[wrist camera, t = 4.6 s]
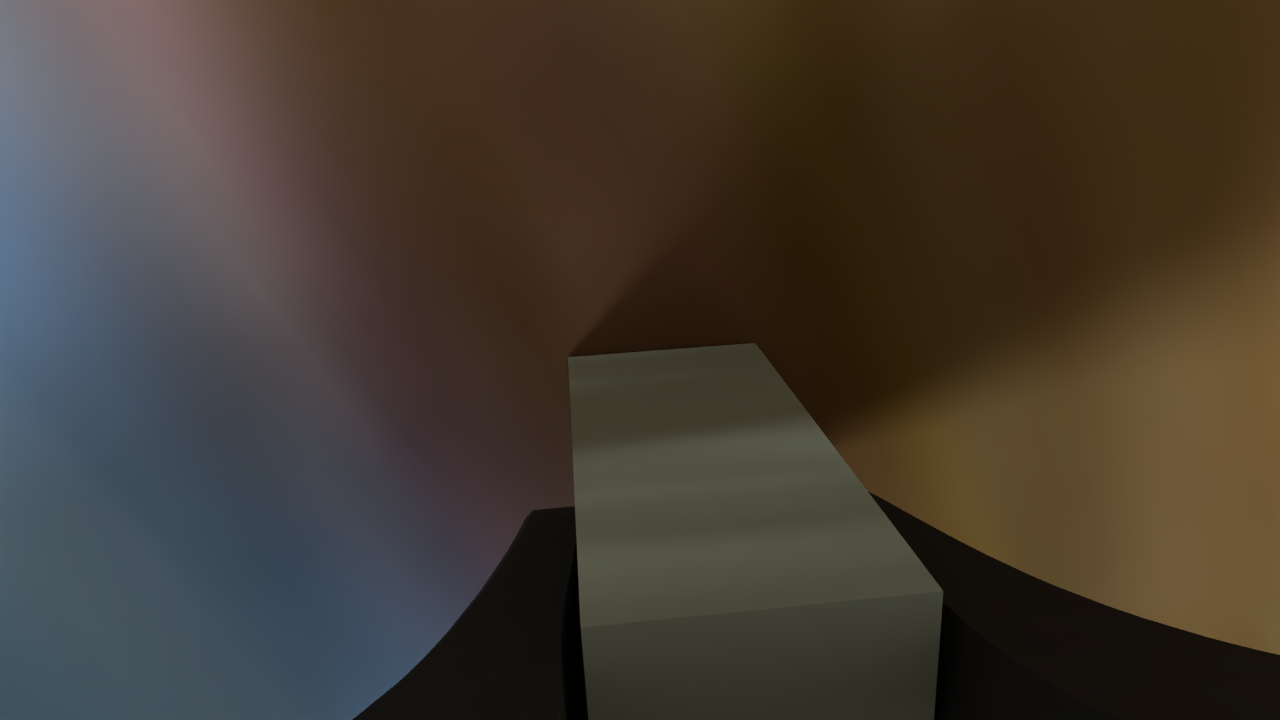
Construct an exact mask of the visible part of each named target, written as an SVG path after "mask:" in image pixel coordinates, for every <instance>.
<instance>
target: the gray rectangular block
mask: <svg viewBox="0 0 1280 720" xmlns="http://www.w3.org/2000/svg"><path fill="white" fill-rule="evenodd" d="M568 368H569V390H570V411H571V432H572V454H573V475H574V497H575V518H576V539H577V561H578V582H579V603H580V625H581V638H582V650H583V661H584V673H585V685H586V697H587V709H588V720H934V712H935V698H936V685H937V671H938V658H939V644H940V630H941V617H942V603H943V590H942V589H941V587H940V586H939V585H938V583H937V582H936V581H935V579H934V578H933V577H932V575H931V574H930V573H929V572H928V570H927V569H926V568H925V566H924V565H923V564H922V562H921V561H920V560H919V558H918V557H917V556H916V554H915V553H914V552H913V550H912V549H911V548H910V546H909V545H908V544H907V542H906V541H905V540H904V539H903V537H902V536H901V535H900V533H899V532H898V531H897V529H896V528H895V527H894V525H893V524H892V523H891V521H890V520H889V519H888V517H887V516H886V515H885V513H884V512H883V511H882V510H881V508H880V507H879V506H878V504H877V503H876V502H875V500H874V499H873V498H872V496H871V495H870V494H869V492H868V491H867V490H866V488H865V487H864V486H863V484H862V483H861V482H860V480H859V479H858V478H857V477H856V475H855V474H854V473H853V471H852V470H851V469H850V467H849V466H848V465H847V463H846V462H845V461H844V459H843V458H842V457H841V455H840V454H839V453H838V451H837V450H836V449H835V447H834V446H833V445H832V444H831V442H830V441H829V440H828V438H827V437H826V436H825V434H824V433H823V432H822V430H821V429H820V428H819V426H818V425H817V424H816V422H815V421H814V420H813V418H812V417H811V416H810V414H809V413H808V412H807V411H806V409H805V408H804V407H803V405H802V404H801V403H800V401H799V400H798V399H797V397H796V396H795V395H794V393H793V392H792V391H791V389H790V388H789V387H788V385H787V384H786V383H785V382H784V380H783V379H782V378H781V376H780V375H779V374H778V372H777V371H776V370H775V368H774V367H773V366H772V364H771V363H770V362H769V360H768V359H767V358H766V356H765V355H764V354H763V352H762V351H761V350H760V349H759V347H758V346H757V345H756V343H747V344H734V345H721V346H708V347H695V348H681V349H668V350H655V351H642V352H629V353H616V354H603V355H590V356H577V357H568Z"/></svg>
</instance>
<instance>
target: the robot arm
mask: <svg viewBox="0 0 1280 720" xmlns="http://www.w3.org/2000/svg"><path fill="white" fill-rule="evenodd" d="M869 494H870V495H871V496H872V498H873V499H874V500H875V502H876V503H877V504H878V506H879V507H880V508H881V510H882V511H883V512H884V513H885V515H886V516H887V517H888V519H889V520H890V521H891V523H892V524H893V525H894V527H895V528H896V529H897V531H898V532H899V533H900V535H901V536H902V537H903V539H904V540H905V541H906V542H907V544H908V545H909V546H910V548H911V549H912V550H913V552H914V553H915V554H916V556H917V557H918V558H919V560H920V561H921V562H922V564H923V565H924V566H925V568H926V569H927V570H928V572H929V573H930V574H931V575H932V577H933V578H934V579H935V581H936V582H937V583H938V585H939V586H940V587H941V589H942V590H943V603H942V617H941V630H940V644H939V658H938V671H937V685H936V698H935V712H934V720H1280V655H1277V654H1272V653H1268V652H1263V651H1259V650H1254V649H1251V648H1247V647H1243V646H1239V645H1235V644H1231V643H1227V642H1223V641H1219V640H1216V639H1212V638H1208V637H1204V636H1201V635H1198V634H1194V633H1191V632H1188V631H1184V630H1181V629H1178V628H1174V627H1171V626H1168V625H1164V624H1161V623H1158V622H1154V621H1151V620H1148V619H1144V618H1141V617H1138V616H1135V615H1132V614H1129V613H1126V612H1123V611H1120V610H1117V609H1114V608H1112V607H1109V606H1106V605H1103V604H1101V603H1098V602H1096V601H1093V600H1090V599H1088V598H1085V597H1083V596H1080V595H1077V594H1075V593H1072V592H1069V591H1067V590H1064V589H1062V588H1059V587H1056V586H1054V585H1052V584H1049V583H1047V582H1045V581H1042V580H1040V579H1037V578H1035V577H1033V576H1031V575H1028V574H1026V573H1024V572H1022V571H1020V570H1018V569H1015V568H1013V567H1011V566H1009V565H1007V564H1005V563H1003V562H1001V561H998V560H996V559H994V558H992V557H990V556H988V555H986V554H984V553H982V552H980V551H978V550H976V549H974V548H972V547H970V546H968V545H966V544H964V543H962V542H960V541H958V540H956V539H954V538H952V537H951V536H949V535H947V534H945V533H943V532H941V531H939V530H938V529H936V528H934V527H932V526H930V525H928V524H927V523H925V522H923V521H921V520H919V519H917V518H916V517H914V516H912V515H910V514H908V513H907V512H905V511H903V510H901V509H900V508H898V507H896V506H894V505H892V504H891V503H889V502H887V501H885V500H883V499H881V498H880V497H878V496H876V495H874V494H872V493H870V492H869ZM353 720H588V709H587V697H586V685H585V673H584V661H583V650H582V638H581V625H580V603H579V582H578V561H577V539H576V518H575V507H564V508H553V509H542V510H533V511H532V512H531V513H530V514H529V515H528V516H527V518H526V519H525V520H524V523H523V525H522V527H521V528H520V530H519V532H518V534H517V536H516V537H515V539H514V541H513V543H512V544H511V546H510V548H509V549H508V551H507V552H506V554H505V556H504V557H503V559H502V560H501V562H500V563H499V565H498V566H497V568H496V569H495V571H494V572H493V573H492V575H491V576H490V578H489V579H488V581H487V582H486V584H485V585H484V586H483V588H482V589H481V591H480V592H479V593H478V595H477V596H476V597H475V599H474V600H473V601H472V602H471V604H470V605H469V606H468V607H467V609H466V610H465V611H464V612H463V614H462V615H461V616H460V617H459V619H458V620H457V621H456V622H455V623H454V625H453V626H452V627H451V628H450V630H449V631H448V632H447V633H446V634H445V636H444V637H443V638H442V639H441V640H440V641H439V642H438V643H437V644H436V646H435V647H434V648H433V649H432V650H431V651H430V652H429V653H428V654H427V655H426V656H425V657H424V658H423V659H422V660H421V661H420V662H419V663H418V664H417V665H416V666H415V667H414V668H413V669H412V670H411V671H410V672H409V673H408V674H407V675H406V676H405V677H404V678H403V679H402V680H400V681H399V682H398V683H397V684H396V685H395V686H393V687H392V688H391V689H390V690H388V691H387V692H386V693H385V694H384V695H382V696H381V697H380V698H379V699H377V700H376V701H375V702H374V703H373V704H371V705H370V706H369V707H368V708H366V709H365V710H364V711H363V712H362V713H360V714H359V715H358V716H357V717H355V718H354V719H353Z"/></svg>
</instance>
